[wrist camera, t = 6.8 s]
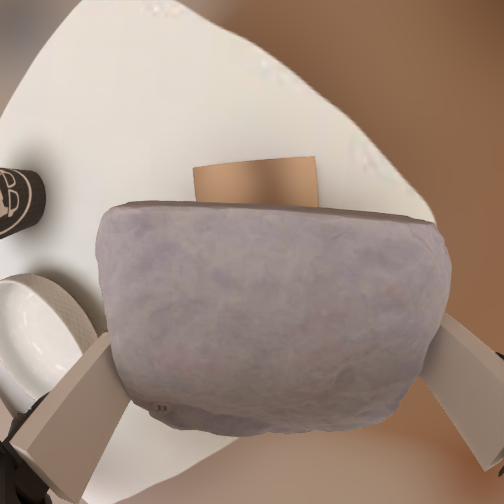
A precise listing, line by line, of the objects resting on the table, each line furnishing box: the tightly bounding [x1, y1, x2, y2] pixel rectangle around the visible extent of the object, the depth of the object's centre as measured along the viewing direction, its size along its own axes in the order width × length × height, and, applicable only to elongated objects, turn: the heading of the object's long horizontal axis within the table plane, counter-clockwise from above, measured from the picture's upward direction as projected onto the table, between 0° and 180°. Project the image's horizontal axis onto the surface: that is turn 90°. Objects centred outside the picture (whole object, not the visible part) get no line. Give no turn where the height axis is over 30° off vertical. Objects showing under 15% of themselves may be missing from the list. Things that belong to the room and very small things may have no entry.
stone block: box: [96, 201, 452, 437], centre depth 10 cm, size 12×5×10 cm
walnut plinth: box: [193, 156, 319, 207], centre depth 24 cm, size 9×16×4 cm, turn 5°
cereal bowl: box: [0, 274, 98, 401], centre depth 25 cm, size 17×17×7 cm
